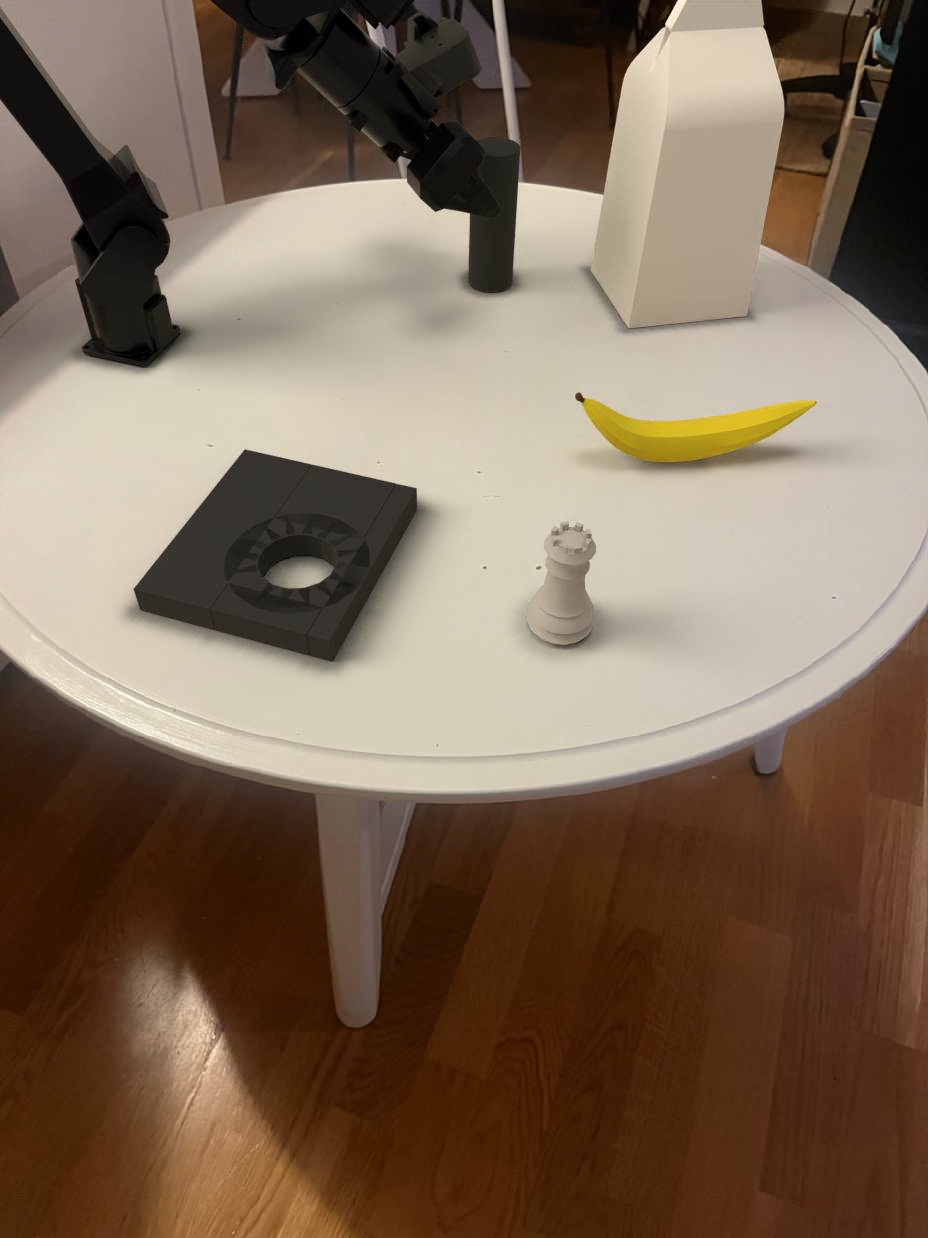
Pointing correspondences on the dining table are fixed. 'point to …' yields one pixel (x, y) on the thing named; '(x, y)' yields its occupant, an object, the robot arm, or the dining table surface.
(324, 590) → the socket pad
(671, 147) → the milk
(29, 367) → the dining table surface
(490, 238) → the post
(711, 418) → the banana
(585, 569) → the rook chess piece
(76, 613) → the dining table surface
